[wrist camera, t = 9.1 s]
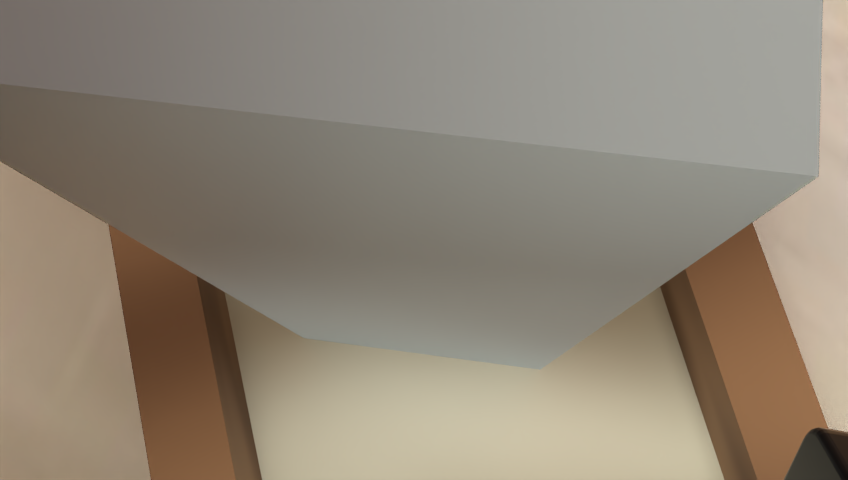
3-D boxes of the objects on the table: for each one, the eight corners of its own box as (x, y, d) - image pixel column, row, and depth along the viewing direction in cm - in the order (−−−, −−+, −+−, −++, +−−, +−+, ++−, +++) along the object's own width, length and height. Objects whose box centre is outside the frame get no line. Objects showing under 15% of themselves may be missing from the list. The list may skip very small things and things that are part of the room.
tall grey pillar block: (540, 369, 16) (818, 177, 4) (303, 338, 17) (-166, 65, 4) (558, 186, 17) (833, -467, 5) (334, 160, 18) (25, -512, 5)
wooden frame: (870, 703, 15) (948, 754, 13) (266, 868, 15) (230, 952, 13) (580, -119, 20) (597, -196, 17) (110, -1, 20) (60, -62, 17)
